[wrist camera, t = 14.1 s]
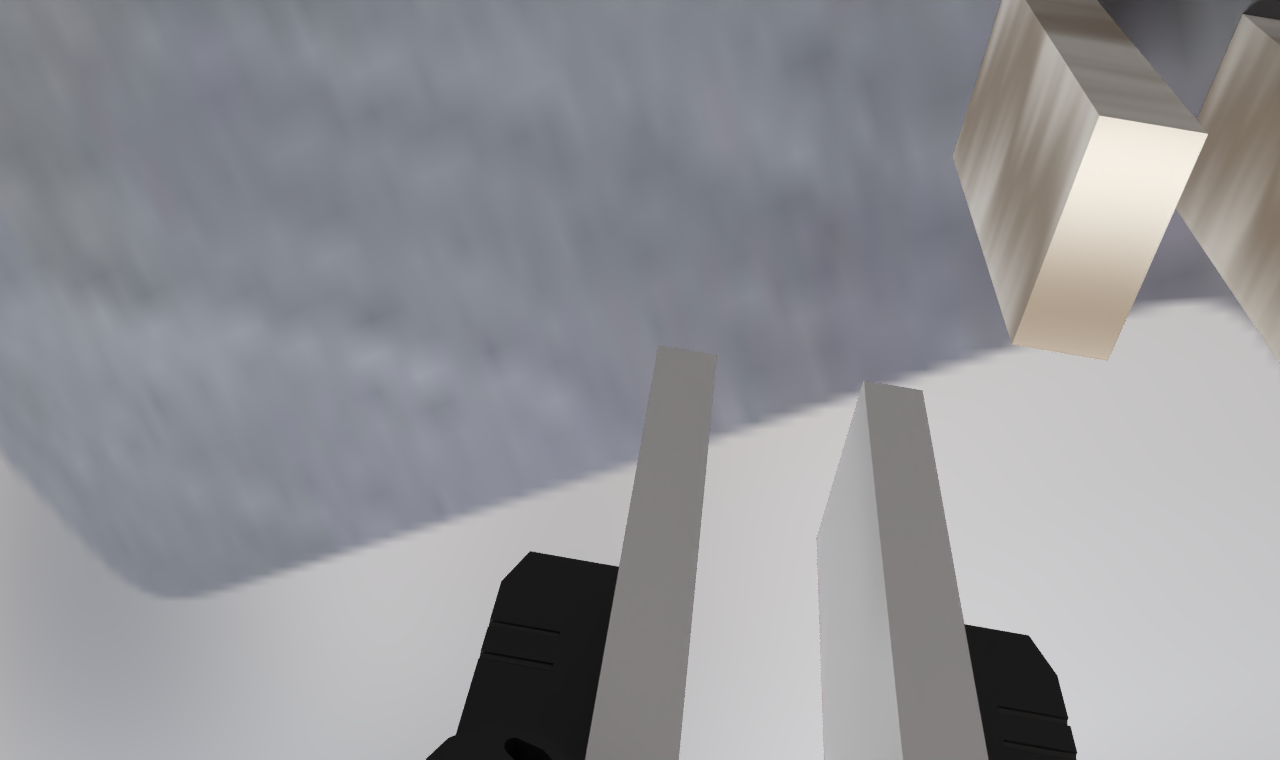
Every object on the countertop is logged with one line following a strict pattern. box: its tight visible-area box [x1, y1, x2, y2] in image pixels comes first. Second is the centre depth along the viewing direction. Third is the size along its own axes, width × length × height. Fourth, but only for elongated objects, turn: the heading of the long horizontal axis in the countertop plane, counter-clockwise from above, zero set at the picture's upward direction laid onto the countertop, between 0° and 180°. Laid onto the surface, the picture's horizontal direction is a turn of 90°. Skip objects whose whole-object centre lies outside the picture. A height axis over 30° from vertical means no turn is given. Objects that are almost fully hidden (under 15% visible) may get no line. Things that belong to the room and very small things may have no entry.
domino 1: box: [953, 0, 1208, 360], centre depth 26 cm, size 5×2×10 cm, turn 172°
